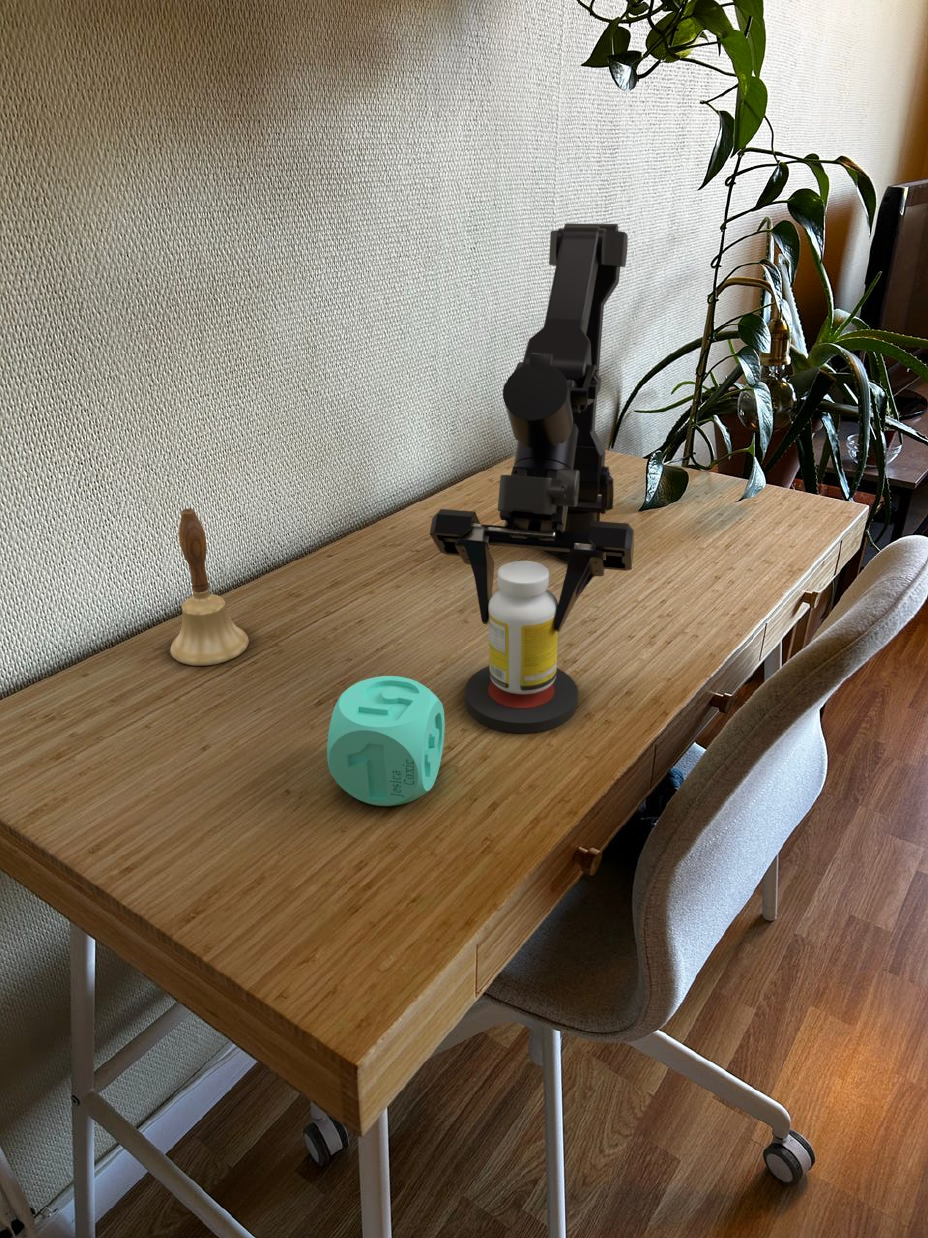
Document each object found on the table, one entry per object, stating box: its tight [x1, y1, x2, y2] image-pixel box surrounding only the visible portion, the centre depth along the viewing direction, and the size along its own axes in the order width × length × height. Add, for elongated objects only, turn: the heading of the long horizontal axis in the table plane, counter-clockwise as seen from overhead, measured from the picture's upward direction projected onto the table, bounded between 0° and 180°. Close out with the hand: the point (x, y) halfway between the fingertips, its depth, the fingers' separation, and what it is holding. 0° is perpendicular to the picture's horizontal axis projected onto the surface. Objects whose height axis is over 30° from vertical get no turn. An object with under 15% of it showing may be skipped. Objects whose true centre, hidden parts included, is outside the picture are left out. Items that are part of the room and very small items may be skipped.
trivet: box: [464, 665, 579, 734], centre depth 89 cm, size 11×11×1 cm
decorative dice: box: [326, 675, 446, 807], centre depth 77 cm, size 8×8×8 cm
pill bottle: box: [488, 560, 559, 694], centre depth 85 cm, size 6×6×12 cm
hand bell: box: [169, 507, 250, 667], centre depth 96 cm, size 8×8×16 cm
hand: (520, 626), depth 84 cm, fingers closed on pill bottle, 6 cm apart
